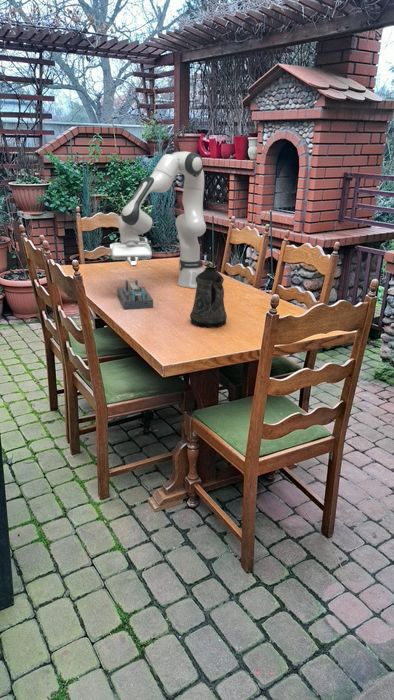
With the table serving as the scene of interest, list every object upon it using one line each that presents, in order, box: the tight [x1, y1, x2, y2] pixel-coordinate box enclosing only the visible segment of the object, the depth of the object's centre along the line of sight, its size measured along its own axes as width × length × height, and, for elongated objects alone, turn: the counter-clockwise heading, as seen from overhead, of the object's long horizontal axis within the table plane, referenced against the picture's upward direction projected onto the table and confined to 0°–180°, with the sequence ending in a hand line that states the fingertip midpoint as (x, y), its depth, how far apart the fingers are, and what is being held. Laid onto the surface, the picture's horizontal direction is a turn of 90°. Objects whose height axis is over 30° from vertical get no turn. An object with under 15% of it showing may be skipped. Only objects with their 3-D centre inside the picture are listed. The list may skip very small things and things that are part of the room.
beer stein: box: [189, 266, 228, 329], centre depth 229 cm, size 16×19×25 cm
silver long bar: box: [128, 281, 141, 295], centre depth 259 cm, size 3×23×2 cm, turn 15°
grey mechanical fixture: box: [117, 279, 154, 310], centre depth 261 cm, size 14×27×8 cm, turn 15°
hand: (133, 265), depth 258 cm, fingers closed
